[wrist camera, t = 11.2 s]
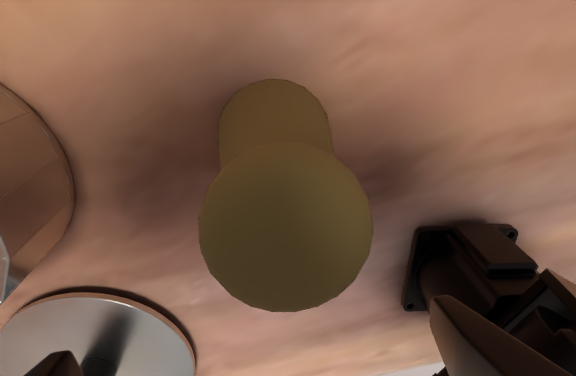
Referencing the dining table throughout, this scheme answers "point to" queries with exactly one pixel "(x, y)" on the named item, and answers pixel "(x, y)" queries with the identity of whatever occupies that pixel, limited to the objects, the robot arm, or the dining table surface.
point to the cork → (282, 203)
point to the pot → (29, 191)
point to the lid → (95, 337)
